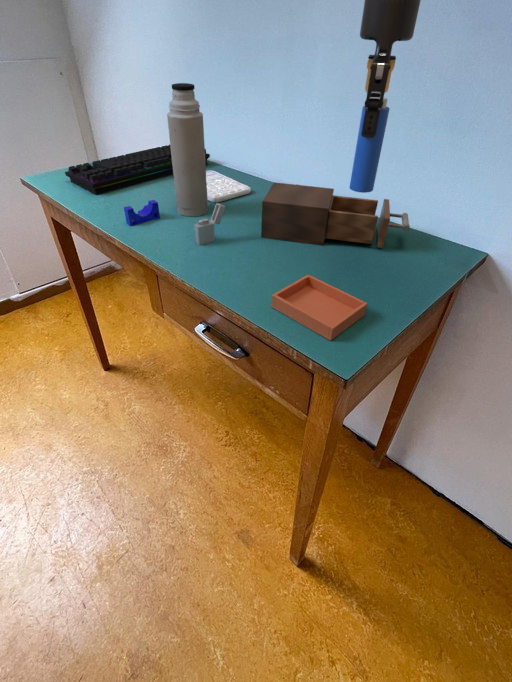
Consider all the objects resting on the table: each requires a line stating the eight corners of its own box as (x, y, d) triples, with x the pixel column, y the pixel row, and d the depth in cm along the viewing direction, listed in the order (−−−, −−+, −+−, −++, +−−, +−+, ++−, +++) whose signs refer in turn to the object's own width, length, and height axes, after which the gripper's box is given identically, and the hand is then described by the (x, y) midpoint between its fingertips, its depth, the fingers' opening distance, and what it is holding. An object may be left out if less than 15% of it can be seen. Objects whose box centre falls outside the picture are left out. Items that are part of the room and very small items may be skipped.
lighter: (199, 245, 89) (196, 210, 83) (195, 242, 90) (192, 208, 84) (226, 238, 92) (225, 204, 87) (222, 235, 93) (221, 201, 88)
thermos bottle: (171, 212, 102) (155, 84, 84) (190, 202, 108) (179, 80, 90) (195, 219, 99) (185, 88, 81) (214, 208, 105) (208, 83, 86)
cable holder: (153, 213, 101) (150, 197, 99) (160, 218, 99) (157, 202, 97) (124, 221, 97) (120, 205, 95) (130, 226, 95) (127, 209, 93)
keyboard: (180, 154, 141) (178, 139, 138) (210, 164, 133) (210, 148, 130) (67, 181, 117) (62, 164, 114) (95, 196, 109) (90, 177, 106)
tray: (364, 315, 70) (367, 303, 68) (330, 341, 64) (332, 328, 63) (306, 285, 77) (308, 274, 75) (271, 306, 71) (271, 294, 70)
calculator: (214, 204, 107) (213, 197, 106) (175, 183, 119) (175, 176, 117) (252, 193, 114) (252, 186, 112) (212, 174, 125) (212, 168, 124)
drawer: (402, 229, 96) (410, 201, 91) (404, 251, 87) (413, 221, 83) (327, 220, 98) (331, 193, 94) (322, 240, 90) (326, 211, 86)
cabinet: (328, 223, 99) (334, 188, 94) (323, 245, 90) (328, 208, 84) (272, 216, 102) (273, 182, 96) (261, 237, 92) (262, 201, 87)
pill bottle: (373, 185, 72) (391, 97, 64) (372, 193, 69) (391, 101, 60) (350, 183, 73) (364, 95, 64) (348, 191, 70) (363, 99, 61)
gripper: (424, -5, 49) (392, 146, 60) (418, -2, 59) (391, 126, 70) (362, -6, 50) (341, 142, 61) (367, -2, 61) (348, 123, 72)
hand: (368, 132), depth 66 cm, fingers closed on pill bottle, 4 cm apart
